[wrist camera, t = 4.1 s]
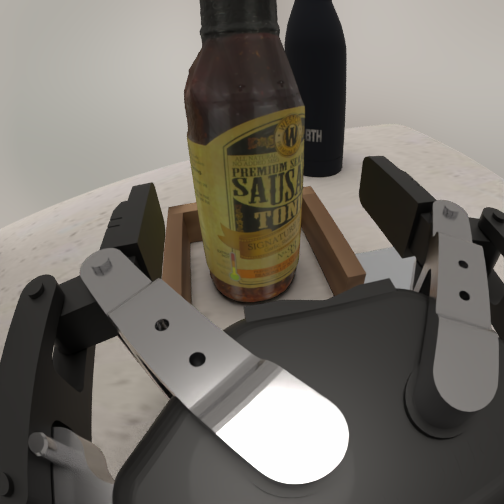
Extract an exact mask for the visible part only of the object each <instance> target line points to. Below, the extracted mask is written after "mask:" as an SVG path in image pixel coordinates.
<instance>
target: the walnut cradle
mask: <svg viewBox="0 0 504 504" xmlns="http://www.w3.org/2000/svg"><path fill="white" fill-rule="evenodd" d="M301 227H302V229H303V231H304V233H305V235H306V237H307V239H308V241H309V244H310V246H311V248H312V250H313V252H314V254H315V256H316V258H317V260H318V262H319V264H320V266H321V268H322V271H323V273H324V275H325V277H326V279H327V281H328V283H329V285H330V288H331V290H332V292H333V294H334V296H336V295H338V294H340V293H343V292H345V291H347V290H349V289H351V288H353V287H355V286H357V285H360V284H364V281H365V277H366V272H365V270H364V269H363V267H362V265H361V264H360V262H359V260H358V259H357V257H356V255H355V254H354V252H353V251H352V249H351V247H350V246H349V244H348V242H347V241H346V239H345V238H344V236H343V234H342V233H341V231H340V230H339V228H338V227H337V225H336V223H335V222H334V220H333V219H332V217H331V216H330V214H329V213H328V211H327V210H326V208H325V207H324V205H323V204H322V202H321V201H320V199H319V198H318V196H317V195H316V193H315V192H314V190H313V189H312V187H311V186H308V187H303V195H302V212H301ZM197 241H203V239H202V233H201V227H200V222H199V215H198V209H197V202H196V203H190V204H184V205H178V206H173V207H169V209H168V218H167V227H166V238H165V249H164V261H163V274H162V280H163V281H164V282H166V283H167V284H168V285H169V286H170V287H171V288H172V289H173V290H175V291H176V292H177V293H178V294H179V295H180V296H182V297H183V298H184V299H185V300H186V301H187V302H189V303H190V304H191V305H192V301H191V270H190V243H191V242H197Z"/></svg>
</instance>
